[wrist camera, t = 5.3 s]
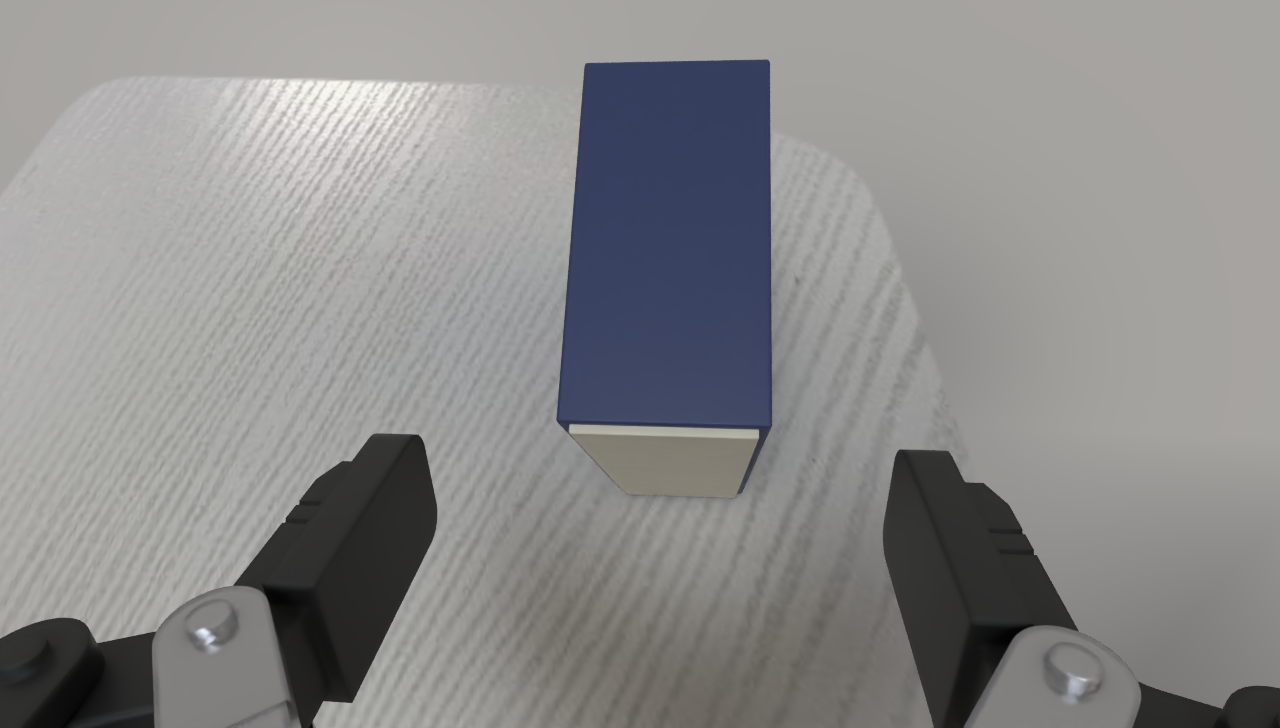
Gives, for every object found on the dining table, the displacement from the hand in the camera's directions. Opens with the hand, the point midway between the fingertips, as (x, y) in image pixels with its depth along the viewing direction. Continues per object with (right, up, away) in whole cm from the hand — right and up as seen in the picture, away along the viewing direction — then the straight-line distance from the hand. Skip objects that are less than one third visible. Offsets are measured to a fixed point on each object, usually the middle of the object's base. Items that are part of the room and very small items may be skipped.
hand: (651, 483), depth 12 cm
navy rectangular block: (+2, +2, +15) cm, 16 cm away
